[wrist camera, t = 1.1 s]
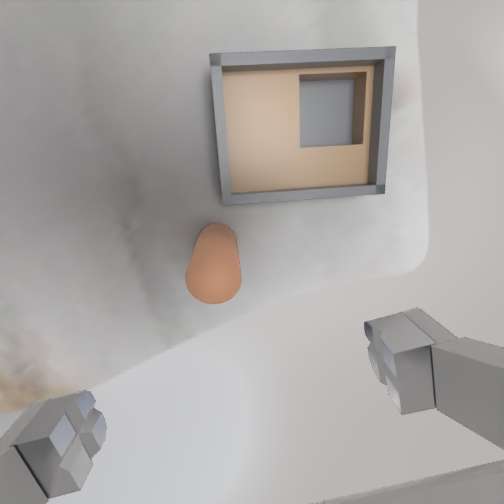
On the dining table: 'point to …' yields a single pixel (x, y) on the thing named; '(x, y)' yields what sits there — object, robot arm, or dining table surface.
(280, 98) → the bore box
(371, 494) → the robot arm
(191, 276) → the peg
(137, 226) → the dining table surface
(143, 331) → the dining table surface
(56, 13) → the dining table surface
